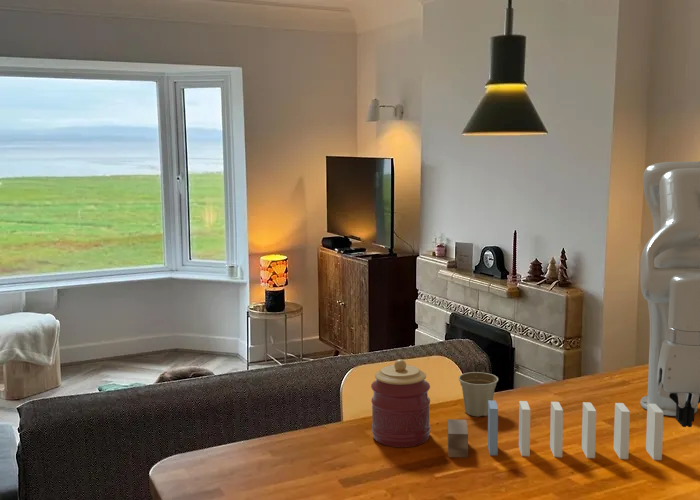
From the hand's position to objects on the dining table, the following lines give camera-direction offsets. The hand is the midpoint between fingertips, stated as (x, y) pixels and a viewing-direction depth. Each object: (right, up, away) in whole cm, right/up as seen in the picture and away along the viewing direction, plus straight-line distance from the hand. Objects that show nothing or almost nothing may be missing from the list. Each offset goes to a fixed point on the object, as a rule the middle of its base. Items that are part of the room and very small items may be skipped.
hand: (684, 424), depth 140 cm
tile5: (-31, -7, +5) cm, 32 cm away
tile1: (-6, -7, +2) cm, 9 cm away
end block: (-45, -7, +6) cm, 46 cm away
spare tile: (-38, -7, +5) cm, 39 cm away
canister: (-57, -6, +14) cm, 58 cm away
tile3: (-19, -7, +3) cm, 20 cm away
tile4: (-25, -7, +4) cm, 26 cm away
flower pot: (-37, -4, +27) cm, 46 cm away
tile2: (-12, -7, +2) cm, 14 cm away
